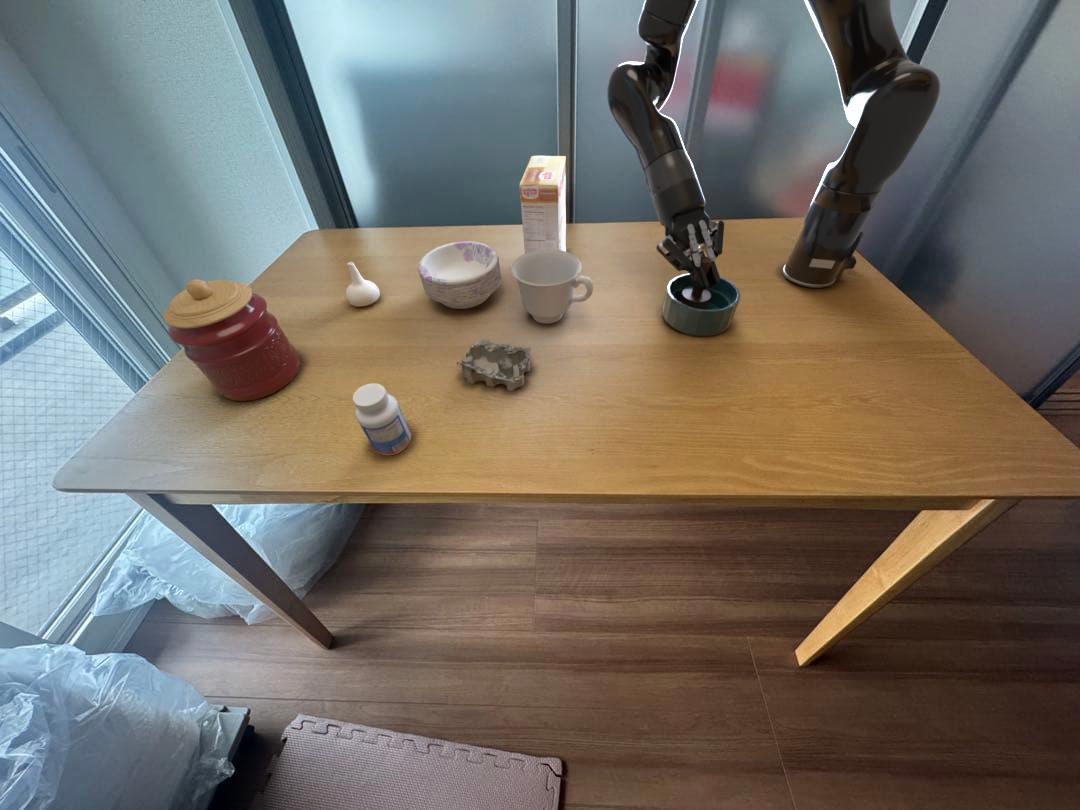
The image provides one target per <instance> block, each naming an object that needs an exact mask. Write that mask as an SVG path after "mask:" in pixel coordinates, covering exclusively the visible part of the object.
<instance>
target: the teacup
mask: <svg viewBox="0 0 1080 810" xmlns="http://www.w3.org/2000/svg"><path fill="white" fill-rule="evenodd" d="M581 271H582V263H581V261H580V260H579V259H578V258H577V257H576V256H575V255H573V254H572V253H570V252H568V251H566V252H565V251H561V250H555V249H542V250H535V251H531V252H528V253H525V252H524V253H523V254H521V255H520V256H518V257H517V258H516V259H515V260H514V261H513V262H512V263H511V266H510V272H511V275H512V276H513V277H514V278H515V280H516V283H517V286H518V287H517V288H518V291H519V296H520V299H521V303H522V305H523V307H524V309H525V310H526V311H527V312H528V313H529V314H530V315H531V316H532V318H533V320H534V321H536V322H537V323H540V324H545V325H546V324H548V325H549V324H555V323H557V322H558V321H560V320H561V319H562V318H563V314H565V313H566V312H567V311H568V310H569V309H570V307H571V305H572V304H574V303H579V302H580V303H581V302H585V301H587V300H588V299H590V298H591V296H592V294H593V292H594V284H593V281H592V279H591V278H590V277H588V276H586V275H580V276H578V275H579V274H580V273H581ZM577 276H578V277H577ZM581 284H583V285H584V287H586V292H585V294H581V295H576V296H574V293H575V289H577V288H578V287H579V286H580V285H581Z"/></svg>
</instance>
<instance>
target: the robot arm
mask: <svg viewBox="0 0 1080 810" xmlns="http://www.w3.org/2000/svg"><path fill="white" fill-rule="evenodd" d="M698 1H699V0H644V3H643V6H642V10H641V13H640V16H639V19H638V23H637V34H638V36H639V38H640V39H641V41H643V42H644V43H646V50H645V51H646V52H645V57H644V61H643V62H641V61H640V62H639V61H626V62H623V63H621V64H619V65H617V66H616V67H615V69H613V71H612V72H611V74H610V76H609V79H608V82H607V89H606V95H607V97H606V98H607V103H608V107H609V110H610V113H611V115H612V116H613V119H614V120H615V122H616V124H617V125H618V127H619V128H620V129H621V131H622V133H623V134H624V136H625V138H626V139H627V141H628V142H629V143H630V144H631V145H632V147H633V148H634V150H635V152H636V155H637V159H638V161H639V164H640V167H641V170H642V173H643V176H644V180H645V184H646V187H647V190H648V193H649V196H650V198H651V201H652V205H653V207H654V210H655V213H656V215H657V218H658V221H659V224H660V225H661V226H662V227H664V236H665V237H664V239H662V241H661V242H660V243H658V244H657V245H656V247H655V248H656V251H657V252H658V253H659V254H660V255H661V256H662V257H663V258H664V259H666V261H667V262H668V263H669V264H670V265H671V266H672V267H673V268H674V269H675V270H677V272H682V271H685V272H688V273H689V274H690V276H691V279H692V282H693V285H694V287H695V288H696V289H697V291H699V292H700V291H702V290H705V289H707V288H709V287H712V286H715V285H717V284H719V283H720V277H721V276H720V273H719V270H718V267H717V265H716V259H717V258H718V257H719V256H721V255H723V247H724V234H725V233H724V232H725V222H724V221H723V220H719V221H717V222H716V221H713V220H711V219H710V216H709V215H708V214H707V213H706V211H705V205H706V198H705V196H704V193H703V191H702V187H701V185H700V182H699V179H698V176H697V173H696V171H695V168H694V164H693V162H692V160H691V158H690V156H689V155H688V152H687V150H686V148H685V145H684V142H683V140H682V137H681V134H680V130H679V128H678V126H677V123H676V122H675V120H674V119H673V118H671V117H670V116H666V115H664V114H662V113H661V112H660V110H661V109H662V108H663V107H664V105H665V104H666V102H667V101H668V99H669V98H670V95H671V93H672V91H673V87H674V84H675V79H676V75H677V70H678V66H679V61H680V58H681V57H680V56H681V52H682V44H683V39H684V36H685V34H686V32H687V30H688V28H689V24H690V22H691V19H692V16H693V14H694V12H695V9H696V7H697V4H698ZM803 2H804V3H805V6H806V9H807V10H808V12H809V15H810V17H811V19H812V21H813V23H814V26H815V28H816V30H817V33H818V34H819V37H820V38H821V40H822V42H823V44H824V45H825V48H826V49H827V51H828V53H829V55H830V58H831V60H832V64H833V66H834V70H835V74H836V78H837V83H838V87H839V91H840V95H841V101H842V105H843V110H844V114H845V117H846V120H847V122H848V124H849V126H850V127H851V128H853V129H854V130H853V133H852V135H851V137H850V138H849V141H848V143H847V145H846V147H845V149H844V151H843V152H842V155H841V156H840V157H838V158H835V159H833V160H831V161H830V162H829V163H828V164H827V166H826V168H825V170H824V172H823V175H822V178H821V180H820V182H819V185H818V187H817V189H816V191H815V194H814V195H813V199H812V201H811V203H810V206H809V207H808V210H807V213H806V215H805V218H804V219H803V222H802V224H801V227H800V230H799V231H798V234H797V237H796V239H795V241H794V244H793V247H792V248H791V250H790V253H789V255H788V257H787V260H786V263H785V264H784V266H783V268H782V275H783V277H784V278H785V279H787V281H789V282H791V283H793V284H795V285H798V286H801V287H806V288H810V289H823V288H828V287H830V286H832V285H833V284H835V282H837V281H840V279H841V277H842V275H843V273H844V271H845V270H849V269H850V270H852V269H853V270H854V268H855V267H856V265H857V259H856V256H854V253H855V251H856V249H857V247H858V246H859V244H860V242H861V240H862V238H863V236H864V231H863V227H864V225H865V224H866V222H867V220H868V218H869V216H870V214H871V212H872V210H873V209H874V206H875V204H876V202H877V201H878V199H879V197H880V195H881V194H882V192H883V190H884V189H885V186H886V184H887V183H888V181H889V180H890V179H891V178H892V177H893V176H894V175H895V174H896V173H897V172H898V171H899V170H900V168H901V167H902V166H903V164H904V163H905V161H906V160H907V158H908V156H909V155H910V153H911V151H912V150H913V148H914V147H915V144H916V143H917V141H918V140H919V137H920V136H921V134H922V133H923V131H924V129H925V127H926V125H927V124H928V123H929V120H930V119H931V116H932V115H933V113H934V110H935V109H936V106H937V103H938V101H939V97H940V93H941V81H940V78H939V76H938V75H937V73H935V71H933V70H932V69H930V68H928V67H926V66H925V65H921V64H919V63H917V62H914V61H912V60H911V59H910V58H909V56H908V54H907V53H906V51H905V48H904V47H903V45H902V43H901V40H900V37H899V35H898V32H897V29H896V27H895V24H894V20H893V15H892V9H891V0H803ZM702 257H708V258H710V259H711V260H712V261H711V264H710V268H709V272H708V275H707V277H706V275H705V272H704V269H703V266H702V267H700V265H701V262H700V259H701V258H702Z"/></svg>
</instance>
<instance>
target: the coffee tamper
mask: <svg viewBox="0 0 1080 810" xmlns="http://www.w3.org/2000/svg"><path fill="white" fill-rule="evenodd" d="M711 261H712V260H711V259H710V258H708V257H702V258H701V259H700V262H701V265H700V267H702V266H703V269H704V272H705V275H706V277H707V275H708V272H709V268H710V264H711ZM710 299H711V293H710V292H709V291H708V290H707V289H705V290H702V291H700V292H699V291H697V289H696V288H695V287H694V285H693V286H691V287H687V288H685V289H684V290H683V291H682V294H681V299H680V302H681V303H682V304H685V305H687V306H689V307H693V308H698V309H704V310H705V309H707V308H708V306H709V302H710Z"/></svg>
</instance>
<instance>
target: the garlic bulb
mask: <svg viewBox="0 0 1080 810" xmlns="http://www.w3.org/2000/svg"><path fill="white" fill-rule="evenodd" d="M346 265H347V266H348V269H349V274H350V278H351V282H350V284H349V285H348V286H347V288H346V289H345V297H346V301H347V302H348V303H349V304H350V305H351V306H353V307H366V306H370V305H372V304H374V303H375V302H377V301H378V300H379V298H380V295H381V292H380V289H379V287H378V286H377V285H376V283H374V282H373V281H371V280H368V279H364V277H363V276H362V275H361V273H360V271H359V270H358V268H357V267H356V265H355V263H354V261H349V262H347V263H346Z"/></svg>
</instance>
